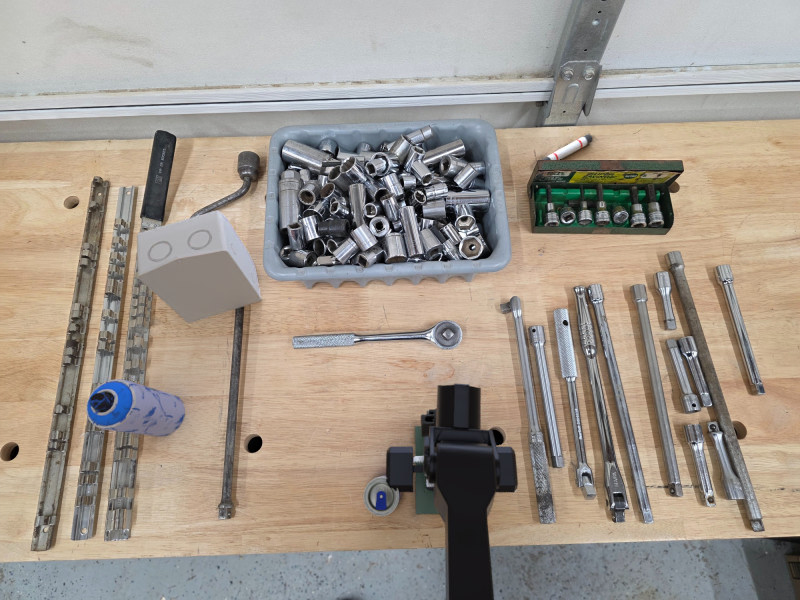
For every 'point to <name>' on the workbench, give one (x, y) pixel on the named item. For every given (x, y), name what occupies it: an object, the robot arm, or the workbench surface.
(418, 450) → the press block
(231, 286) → the electrical switch box
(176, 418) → the aerosol can
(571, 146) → the marker
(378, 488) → the beverage can
